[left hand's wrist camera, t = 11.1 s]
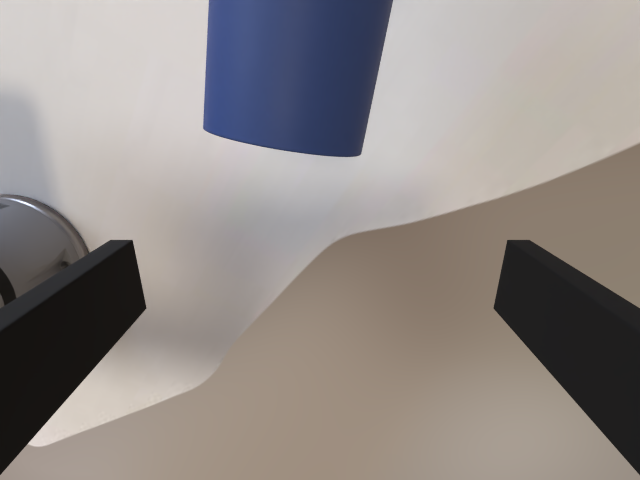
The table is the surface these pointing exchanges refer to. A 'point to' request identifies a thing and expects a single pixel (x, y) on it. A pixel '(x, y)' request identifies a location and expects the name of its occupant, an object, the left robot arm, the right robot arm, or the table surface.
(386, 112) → the table surface
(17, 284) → the left robot arm
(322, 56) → the rod
